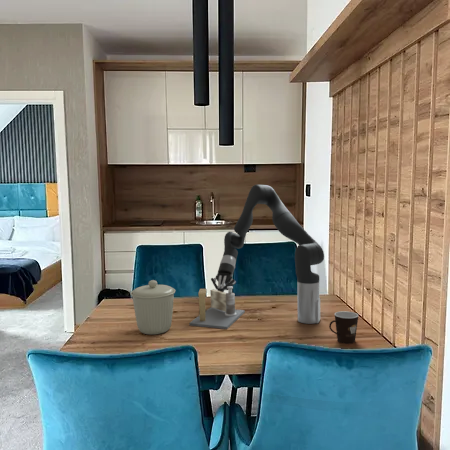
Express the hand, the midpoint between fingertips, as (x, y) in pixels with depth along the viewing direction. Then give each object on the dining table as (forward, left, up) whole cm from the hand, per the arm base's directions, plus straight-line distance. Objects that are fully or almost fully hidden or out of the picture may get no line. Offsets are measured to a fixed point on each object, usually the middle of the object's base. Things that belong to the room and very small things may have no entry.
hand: (219, 296), depth 214 cm
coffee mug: (-60, +28, -6) cm, 66 cm away
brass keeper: (0, +20, -5) cm, 20 cm away
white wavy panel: (-5, +9, -4) cm, 11 cm away
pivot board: (-5, +16, -5) cm, 17 cm away
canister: (+14, +38, -6) cm, 41 cm away
